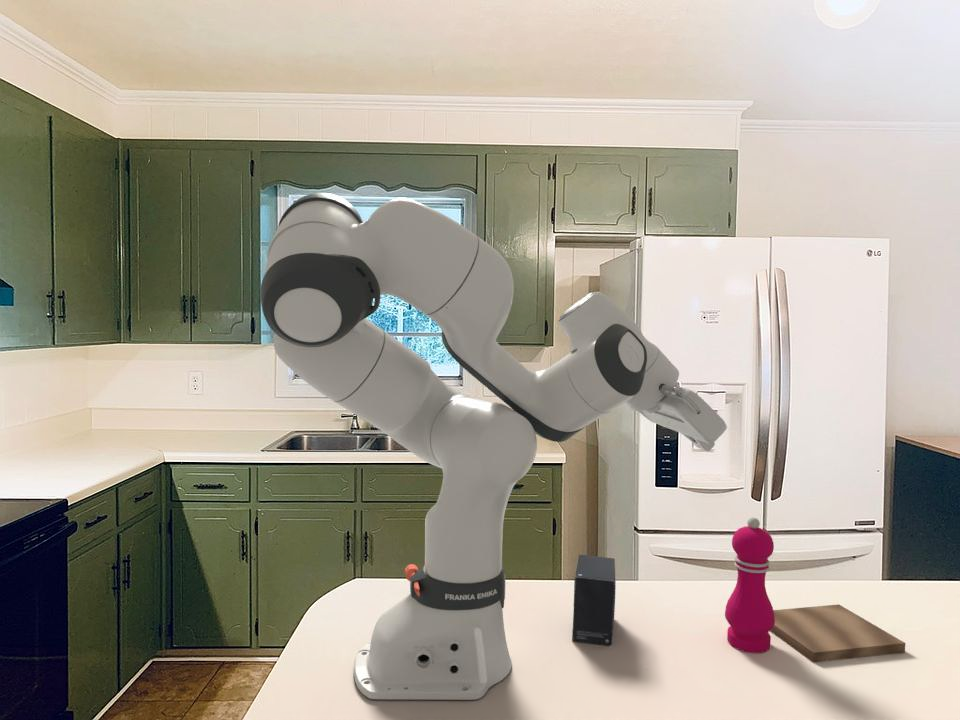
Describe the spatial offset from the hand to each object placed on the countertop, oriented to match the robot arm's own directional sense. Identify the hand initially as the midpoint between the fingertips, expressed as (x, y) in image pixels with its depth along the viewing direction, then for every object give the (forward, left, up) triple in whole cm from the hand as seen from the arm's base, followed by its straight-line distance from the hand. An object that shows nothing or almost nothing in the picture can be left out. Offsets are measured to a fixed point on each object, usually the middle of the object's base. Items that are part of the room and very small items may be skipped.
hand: (707, 446), depth 102 cm
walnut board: (+22, 0, -31) cm, 38 cm away
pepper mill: (+8, 0, -31) cm, 33 cm away
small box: (-14, +9, -32) cm, 36 cm away
